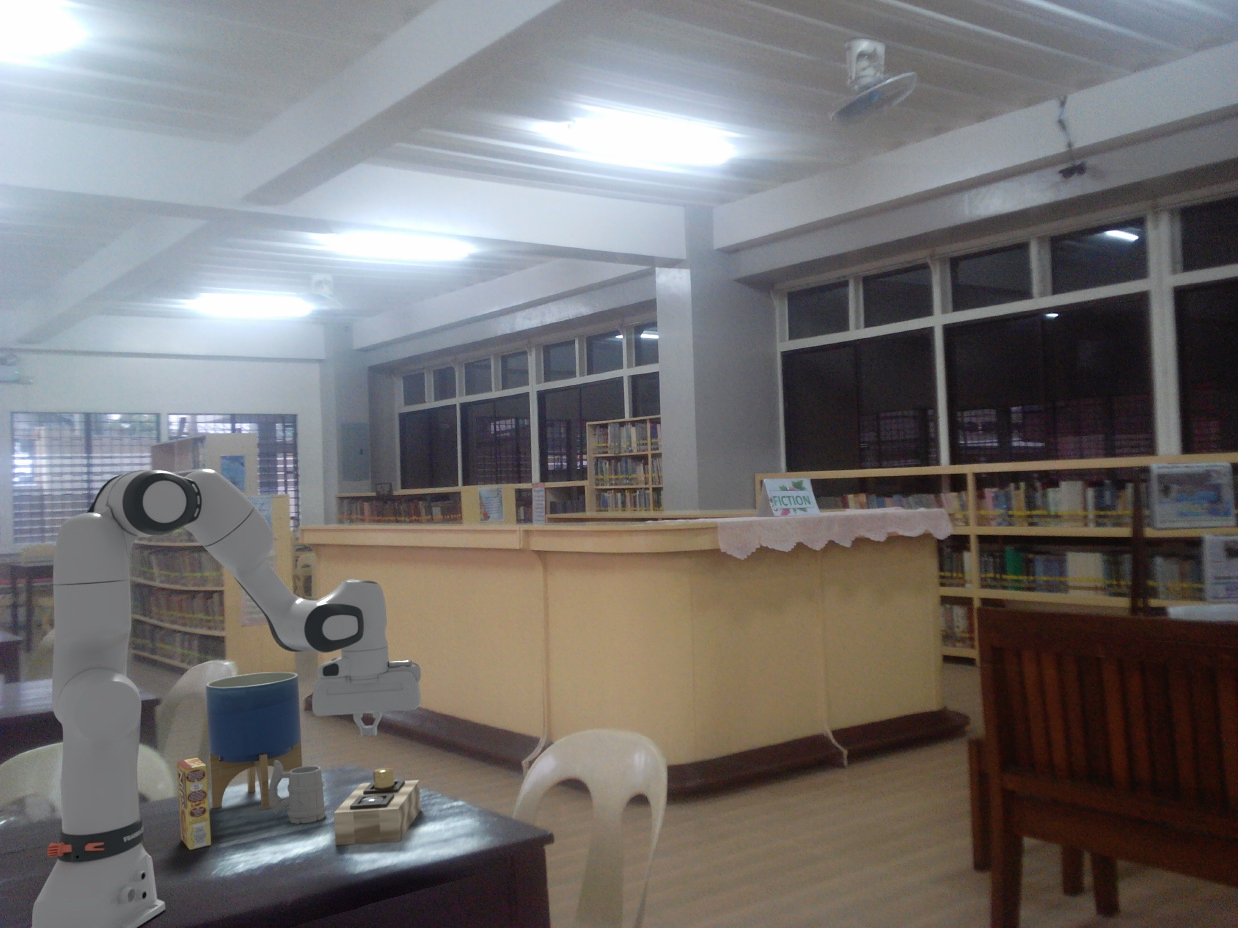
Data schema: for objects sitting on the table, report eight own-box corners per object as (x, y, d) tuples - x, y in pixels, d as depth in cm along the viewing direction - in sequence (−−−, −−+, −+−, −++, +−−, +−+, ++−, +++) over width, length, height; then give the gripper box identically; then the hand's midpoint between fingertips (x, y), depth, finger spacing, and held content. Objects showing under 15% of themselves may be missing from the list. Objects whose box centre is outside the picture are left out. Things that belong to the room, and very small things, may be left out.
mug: (318, 823, 209) (315, 762, 209) (261, 825, 210) (258, 765, 210) (332, 811, 217) (329, 753, 217) (277, 813, 218) (274, 755, 218)
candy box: (212, 845, 199) (208, 764, 199) (188, 850, 196) (184, 768, 197) (202, 834, 206) (198, 756, 207) (179, 839, 204) (175, 760, 204)
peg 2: (393, 805, 207) (391, 772, 208) (372, 806, 207) (371, 773, 208) (397, 799, 211) (395, 767, 212) (377, 800, 211) (375, 768, 212)
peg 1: (382, 836, 197) (380, 801, 198) (361, 837, 197) (359, 802, 198) (387, 829, 201) (385, 795, 202) (366, 830, 201) (364, 796, 202)
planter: (218, 818, 217) (212, 690, 218) (206, 797, 234) (200, 679, 235) (312, 800, 227) (306, 678, 228) (294, 782, 243) (288, 668, 244)
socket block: (399, 841, 194) (397, 805, 194) (335, 844, 194) (333, 809, 195) (420, 809, 214) (419, 776, 214) (362, 812, 214) (360, 780, 215)
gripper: (422, 657, 204) (425, 728, 204) (315, 664, 203) (319, 736, 203) (417, 661, 198) (421, 735, 197) (308, 669, 197) (311, 743, 196)
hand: (368, 735), depth 200 cm, fingers closed
